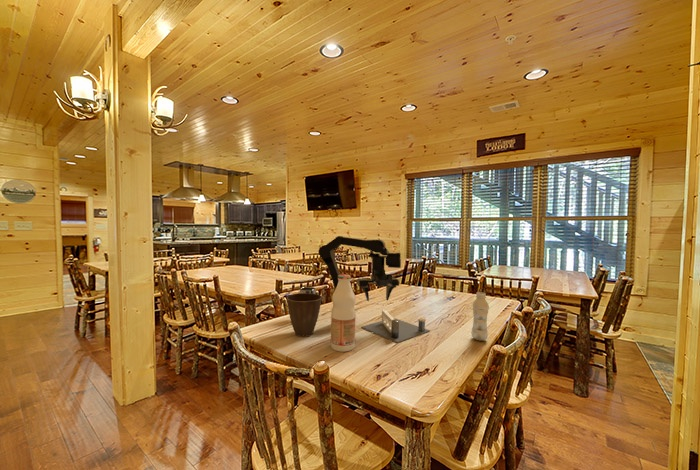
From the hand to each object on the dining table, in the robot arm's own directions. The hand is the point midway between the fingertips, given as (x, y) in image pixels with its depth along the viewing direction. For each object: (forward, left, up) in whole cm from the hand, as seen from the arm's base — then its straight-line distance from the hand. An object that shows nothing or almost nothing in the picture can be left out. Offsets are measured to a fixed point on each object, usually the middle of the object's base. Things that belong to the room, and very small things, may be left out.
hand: (377, 300), depth 132 cm
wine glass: (-18, +32, -13) cm, 39 cm away
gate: (+3, -5, -12) cm, 13 cm away
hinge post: (-2, -13, -13) cm, 18 cm away
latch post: (+13, -15, -13) cm, 24 cm away
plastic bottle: (+26, -35, -13) cm, 46 cm away
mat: (+6, -6, -13) cm, 15 cm away
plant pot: (-30, +15, -13) cm, 36 cm away
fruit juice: (-25, -6, -13) cm, 29 cm away
